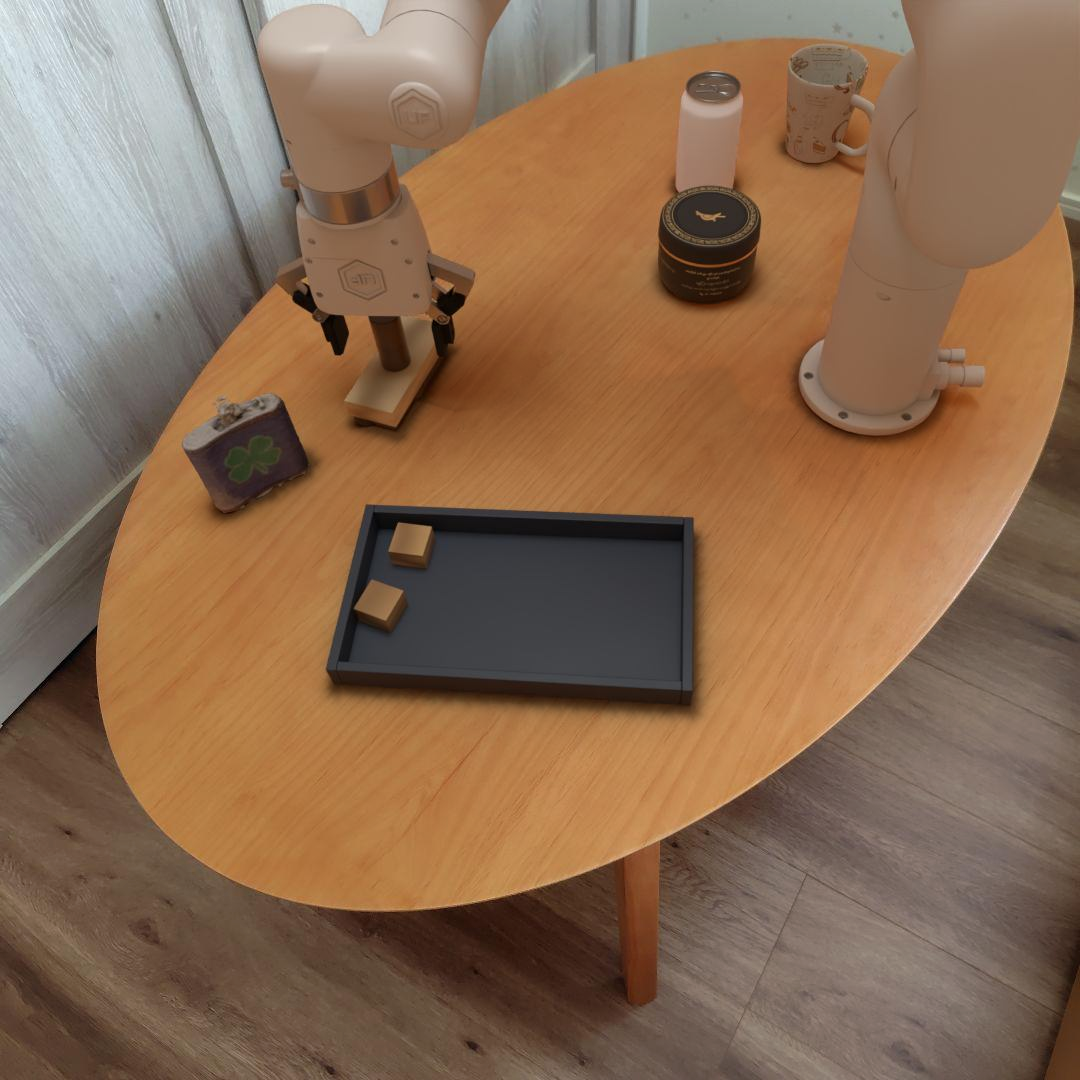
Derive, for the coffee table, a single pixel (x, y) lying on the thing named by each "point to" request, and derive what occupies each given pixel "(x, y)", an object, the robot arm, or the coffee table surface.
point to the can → (709, 131)
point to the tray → (526, 606)
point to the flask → (245, 450)
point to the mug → (824, 101)
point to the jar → (708, 243)
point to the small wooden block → (381, 605)
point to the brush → (394, 371)
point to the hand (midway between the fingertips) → (393, 345)
